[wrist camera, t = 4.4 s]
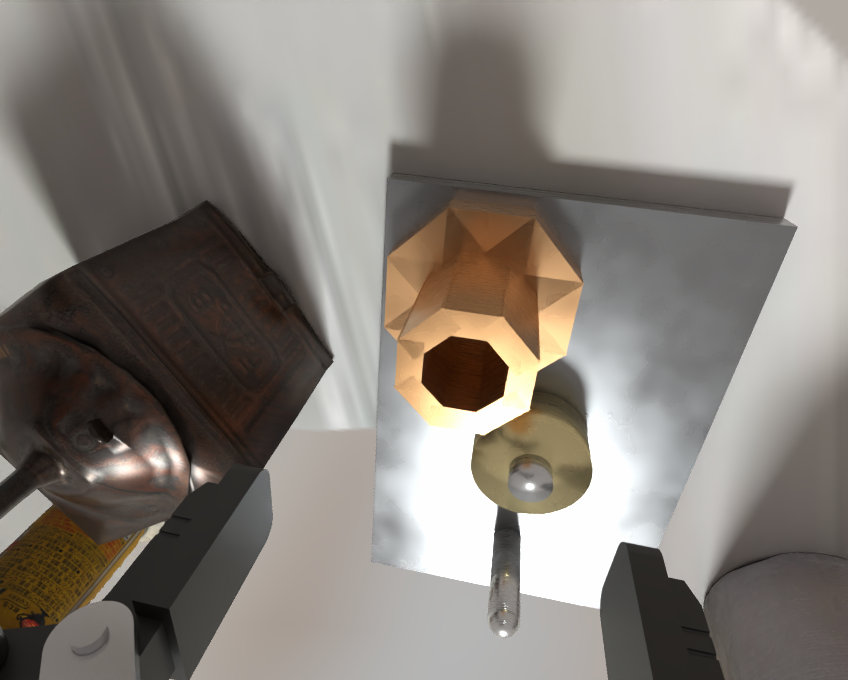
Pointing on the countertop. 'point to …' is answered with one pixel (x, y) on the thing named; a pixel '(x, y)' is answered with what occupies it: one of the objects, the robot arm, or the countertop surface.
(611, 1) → the countertop surface
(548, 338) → the faceted vase
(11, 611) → the condiment
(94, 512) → the coffee grinder
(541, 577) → the carrier
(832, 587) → the pillar candle
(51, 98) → the countertop surface
